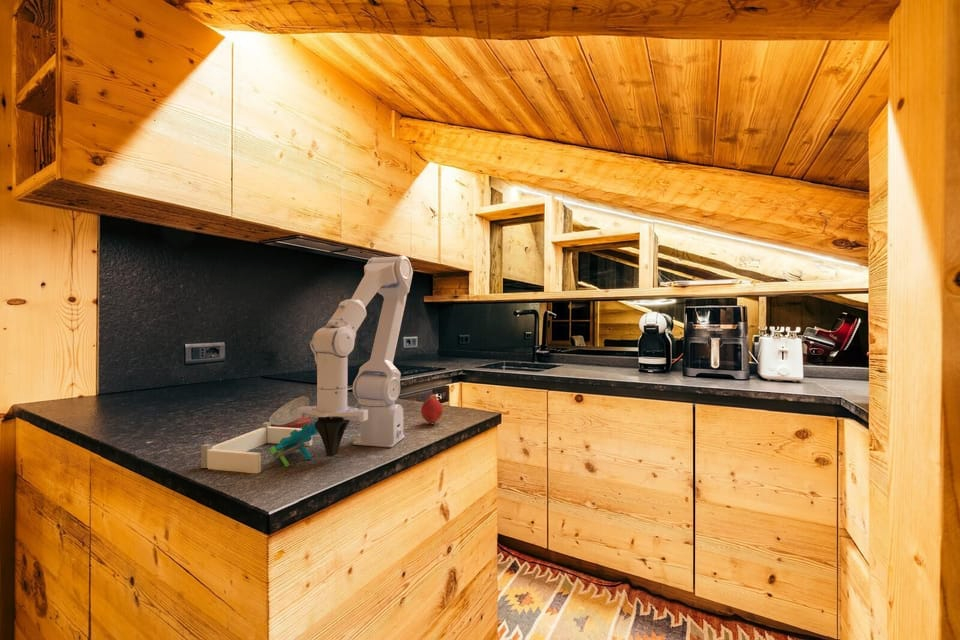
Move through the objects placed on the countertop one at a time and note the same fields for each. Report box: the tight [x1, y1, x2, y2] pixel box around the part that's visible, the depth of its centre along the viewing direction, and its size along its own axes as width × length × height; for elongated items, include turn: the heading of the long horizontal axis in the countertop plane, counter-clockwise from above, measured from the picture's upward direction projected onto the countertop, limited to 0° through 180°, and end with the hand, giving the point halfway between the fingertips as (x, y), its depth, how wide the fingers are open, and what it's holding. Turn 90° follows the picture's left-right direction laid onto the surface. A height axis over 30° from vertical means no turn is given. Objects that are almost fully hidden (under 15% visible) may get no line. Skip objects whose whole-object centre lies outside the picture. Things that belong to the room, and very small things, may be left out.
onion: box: [420, 394, 444, 424], centre depth 109 cm, size 6×6×8 cm
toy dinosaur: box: [268, 421, 319, 468], centre depth 82 cm, size 11×6×10 cm
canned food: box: [268, 395, 312, 429], centre depth 102 cm, size 11×10×10 cm
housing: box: [200, 421, 313, 475], centre depth 84 cm, size 12×17×4 cm
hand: (332, 454), depth 81 cm, fingers closed
